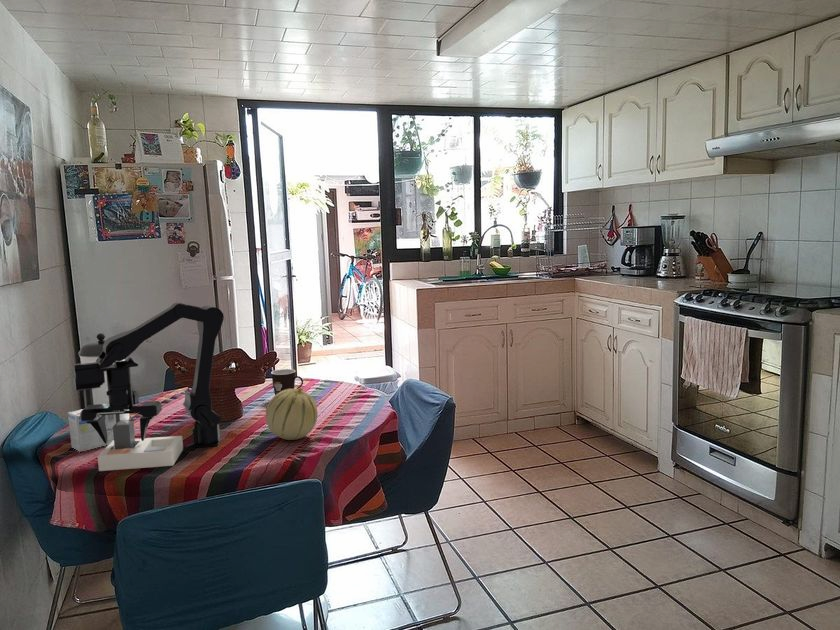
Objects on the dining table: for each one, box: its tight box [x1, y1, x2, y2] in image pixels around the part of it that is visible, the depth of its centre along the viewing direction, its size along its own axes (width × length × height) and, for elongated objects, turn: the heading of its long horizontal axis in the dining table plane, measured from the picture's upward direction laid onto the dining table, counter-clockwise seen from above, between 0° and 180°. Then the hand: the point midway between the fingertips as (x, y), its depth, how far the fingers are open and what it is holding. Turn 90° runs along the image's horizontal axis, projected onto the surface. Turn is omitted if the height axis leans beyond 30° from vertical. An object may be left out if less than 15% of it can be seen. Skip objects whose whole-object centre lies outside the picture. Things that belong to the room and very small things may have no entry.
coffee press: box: [78, 332, 134, 423], centre depth 188 cm, size 17×16×30 cm
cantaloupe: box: [265, 387, 319, 441], centre depth 177 cm, size 15×15×15 cm
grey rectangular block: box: [113, 419, 136, 449], centre depth 163 cm, size 4×4×11 cm
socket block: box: [97, 435, 184, 472], centre depth 163 cm, size 18×12×4 cm, turn 99°
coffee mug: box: [270, 368, 304, 396], centre depth 219 cm, size 12×9×10 cm
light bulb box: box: [67, 404, 116, 452], centre depth 175 cm, size 11×7×11 cm, turn 141°
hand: (124, 441), depth 163 cm, fingers open, 9 cm apart
